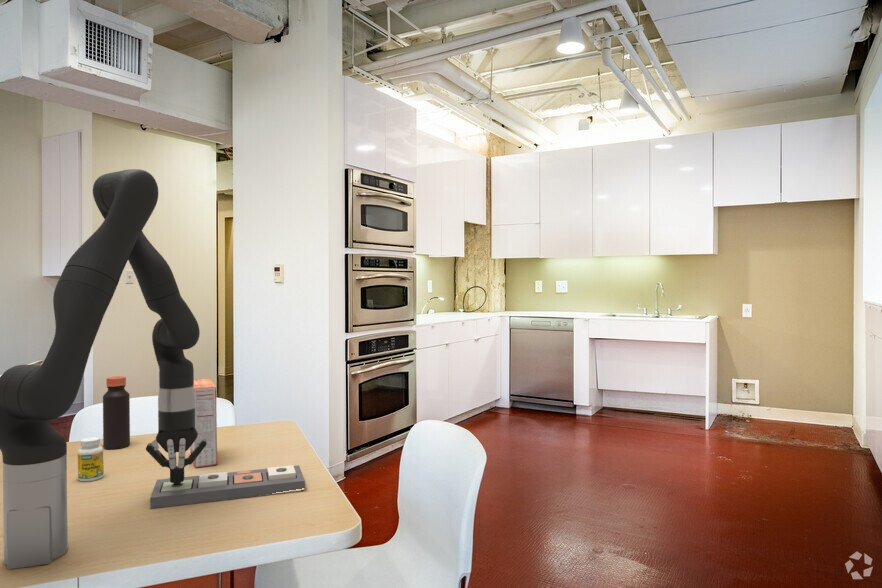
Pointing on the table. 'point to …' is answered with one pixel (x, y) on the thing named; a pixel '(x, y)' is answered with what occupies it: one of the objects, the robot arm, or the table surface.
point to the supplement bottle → (90, 460)
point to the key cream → (281, 473)
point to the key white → (212, 480)
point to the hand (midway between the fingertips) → (177, 483)
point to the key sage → (177, 486)
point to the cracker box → (205, 421)
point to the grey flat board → (224, 489)
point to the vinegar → (116, 414)
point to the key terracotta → (247, 478)
